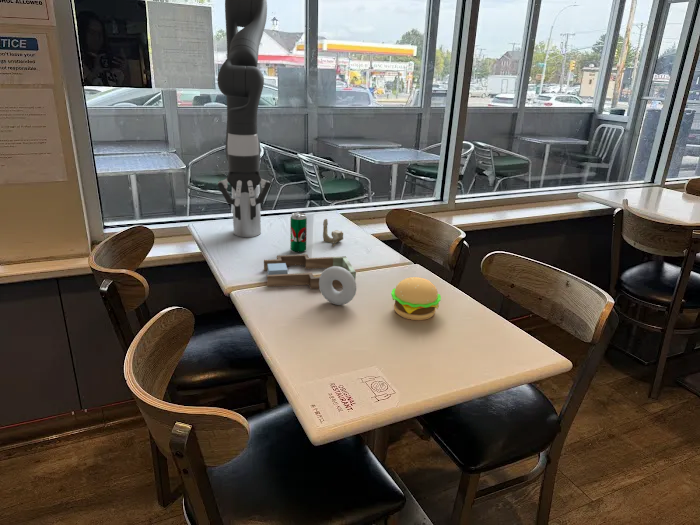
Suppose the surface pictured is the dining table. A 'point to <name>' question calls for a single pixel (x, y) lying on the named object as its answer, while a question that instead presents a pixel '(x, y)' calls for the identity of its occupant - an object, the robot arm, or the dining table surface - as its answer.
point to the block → (277, 269)
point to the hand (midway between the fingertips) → (245, 218)
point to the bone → (335, 234)
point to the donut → (345, 280)
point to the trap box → (309, 264)
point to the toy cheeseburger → (415, 298)
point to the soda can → (298, 232)
